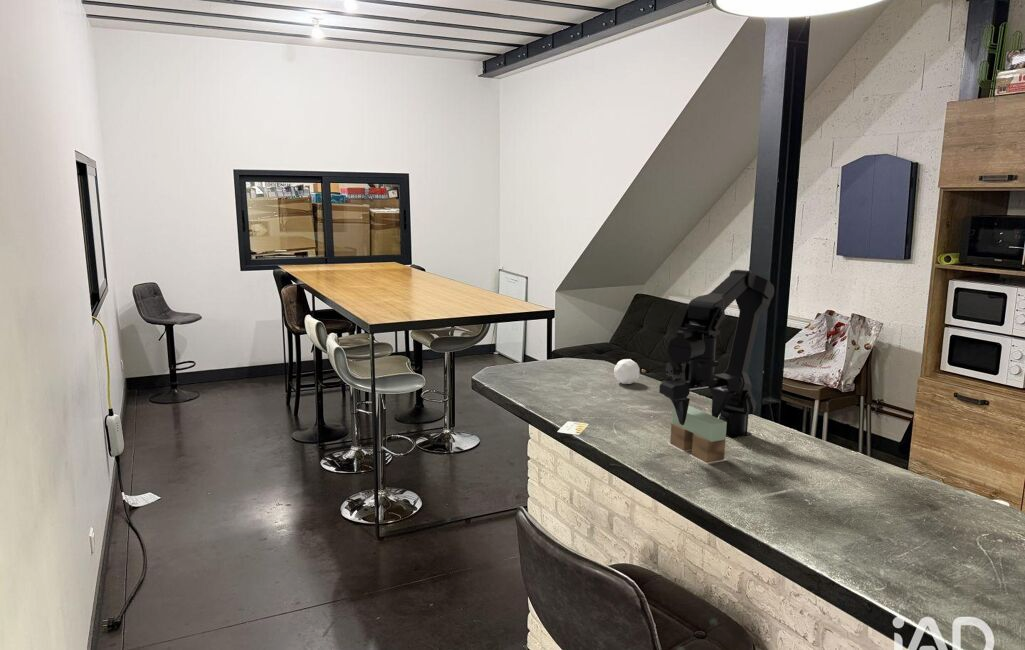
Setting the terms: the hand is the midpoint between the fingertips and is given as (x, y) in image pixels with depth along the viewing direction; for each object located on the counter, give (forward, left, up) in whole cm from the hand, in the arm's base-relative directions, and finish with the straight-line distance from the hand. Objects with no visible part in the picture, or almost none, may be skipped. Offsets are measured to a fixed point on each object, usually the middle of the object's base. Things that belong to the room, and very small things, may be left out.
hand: (698, 421), depth 159 cm
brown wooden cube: (0, -4, -7) cm, 8 cm away
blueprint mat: (0, 0, -8) cm, 8 cm away
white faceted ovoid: (-19, -59, -8) cm, 62 cm away
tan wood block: (0, +4, -7) cm, 8 cm away
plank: (0, 0, -2) cm, 2 cm away
